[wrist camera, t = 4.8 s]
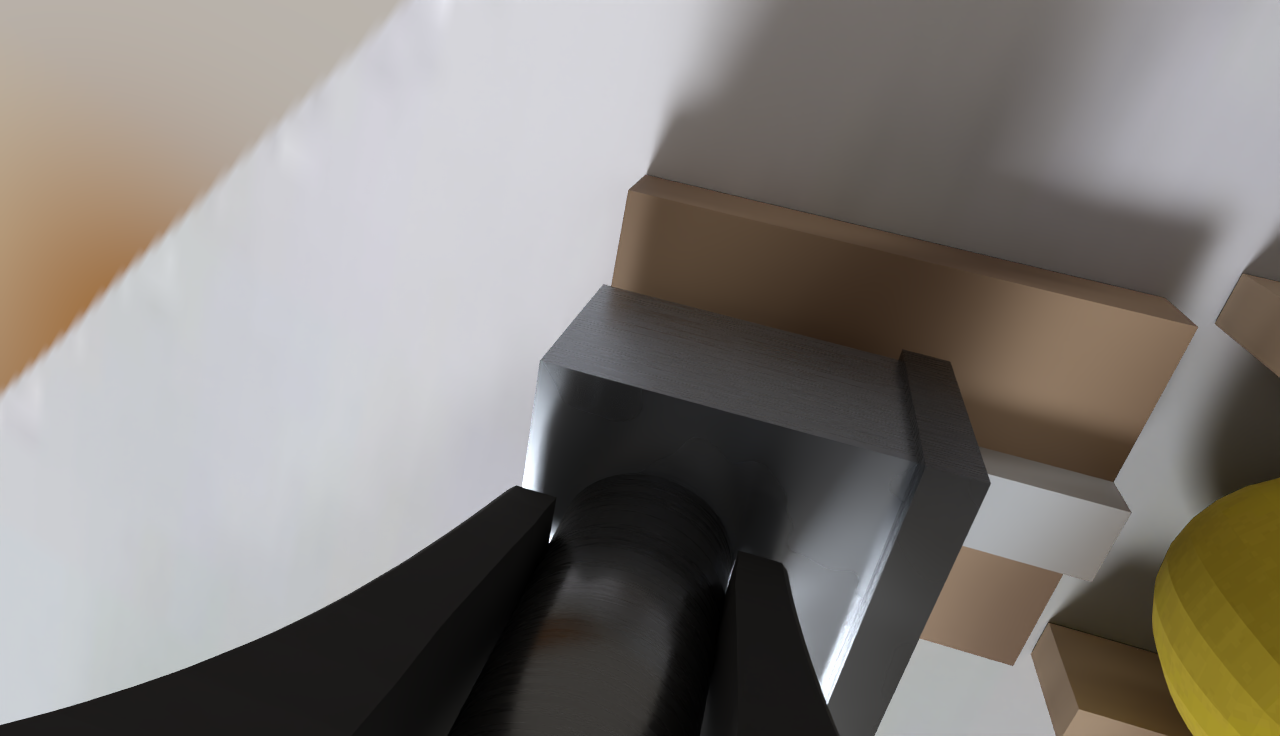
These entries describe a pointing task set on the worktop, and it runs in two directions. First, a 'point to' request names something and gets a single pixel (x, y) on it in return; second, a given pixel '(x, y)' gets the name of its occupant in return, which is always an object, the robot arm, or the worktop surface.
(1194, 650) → the lemon
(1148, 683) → the lemon cradle
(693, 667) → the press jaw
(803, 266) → the press bed
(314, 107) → the worktop surface
